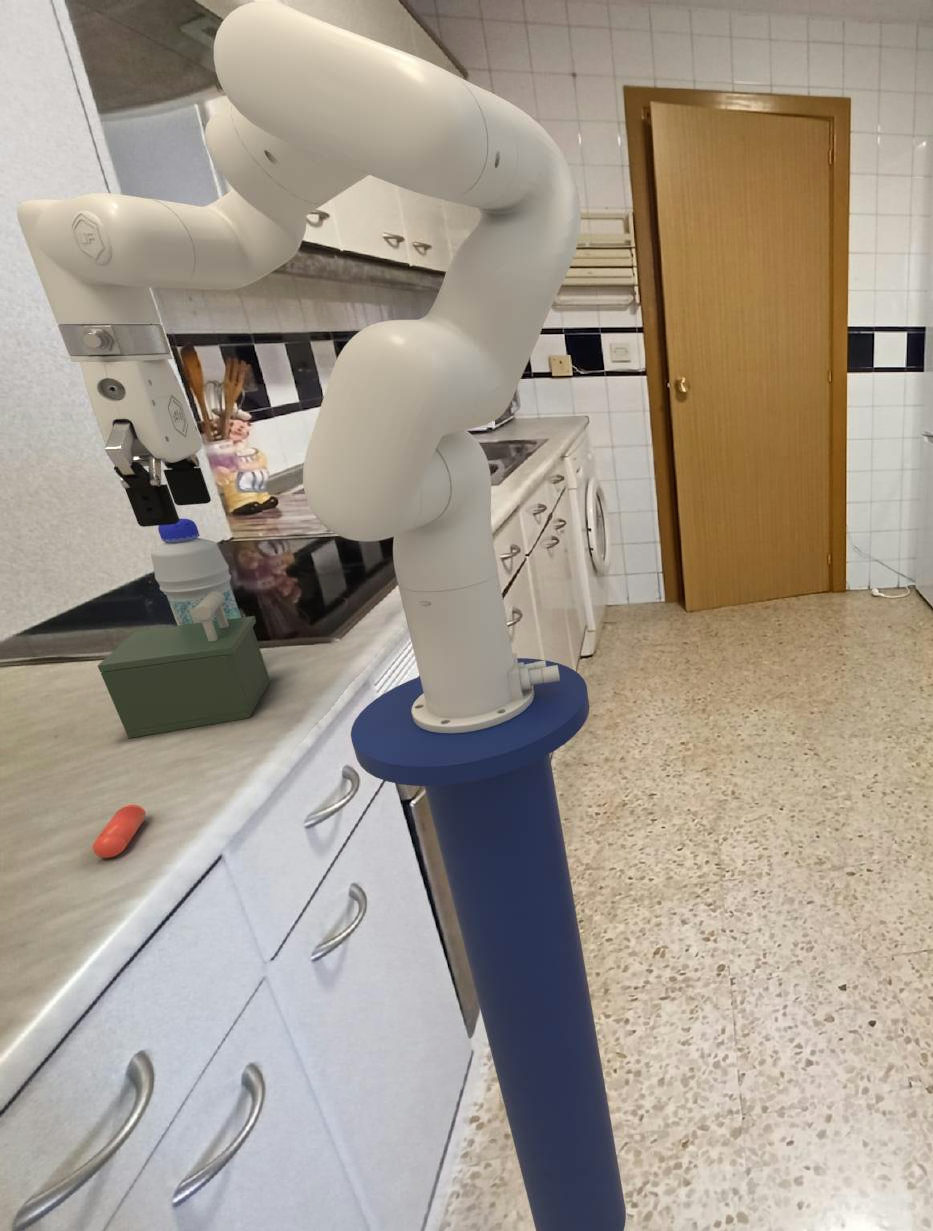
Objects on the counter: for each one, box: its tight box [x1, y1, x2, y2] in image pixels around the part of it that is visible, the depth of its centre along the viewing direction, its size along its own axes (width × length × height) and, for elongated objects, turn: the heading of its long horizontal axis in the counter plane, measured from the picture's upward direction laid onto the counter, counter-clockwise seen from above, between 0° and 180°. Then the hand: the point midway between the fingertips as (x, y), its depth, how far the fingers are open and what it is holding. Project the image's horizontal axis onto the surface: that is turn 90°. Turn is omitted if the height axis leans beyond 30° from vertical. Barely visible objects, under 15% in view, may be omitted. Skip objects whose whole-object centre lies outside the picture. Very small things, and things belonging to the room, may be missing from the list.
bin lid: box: [97, 592, 257, 673], centre depth 78 cm, size 11×10×5 cm
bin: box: [100, 626, 271, 739], centre depth 80 cm, size 11×10×8 cm
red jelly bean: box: [92, 804, 146, 859], centre depth 61 cm, size 6×2×2 cm, turn 24°
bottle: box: [150, 518, 242, 626], centre depth 85 cm, size 7×7×20 cm
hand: (177, 513), depth 77 cm, fingers open, 9 cm apart
